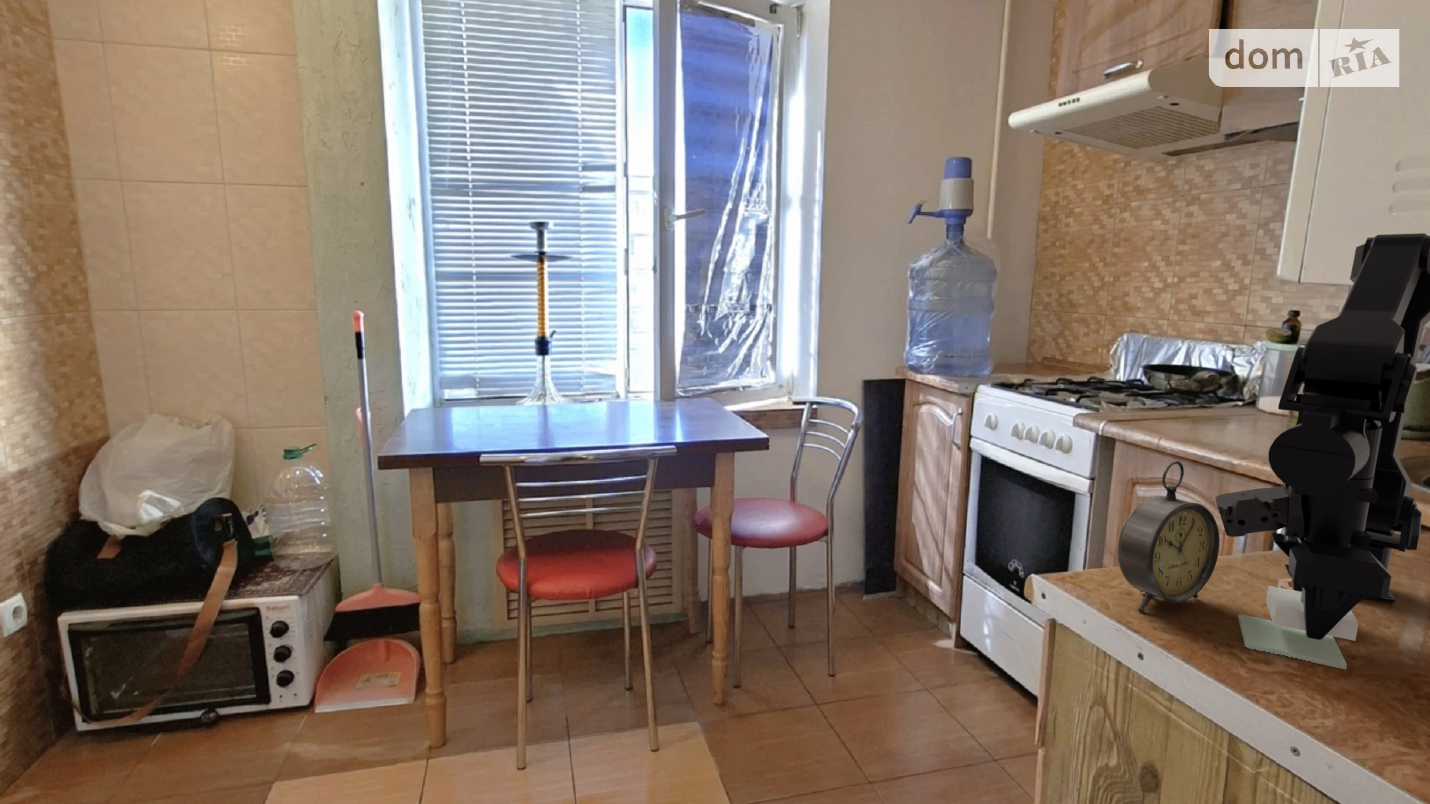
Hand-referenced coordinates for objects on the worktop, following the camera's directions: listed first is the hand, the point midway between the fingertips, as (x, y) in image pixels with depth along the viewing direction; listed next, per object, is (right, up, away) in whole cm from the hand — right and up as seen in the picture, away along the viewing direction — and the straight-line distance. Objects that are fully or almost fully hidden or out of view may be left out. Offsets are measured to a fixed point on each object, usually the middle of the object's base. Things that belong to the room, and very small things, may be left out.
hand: (1307, 625), depth 69 cm
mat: (-1, -2, +1) cm, 2 cm away
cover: (0, 0, 0) cm, 0 cm away
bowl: (+4, -1, +6) cm, 7 cm away
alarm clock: (-9, -1, +10) cm, 13 cm away
